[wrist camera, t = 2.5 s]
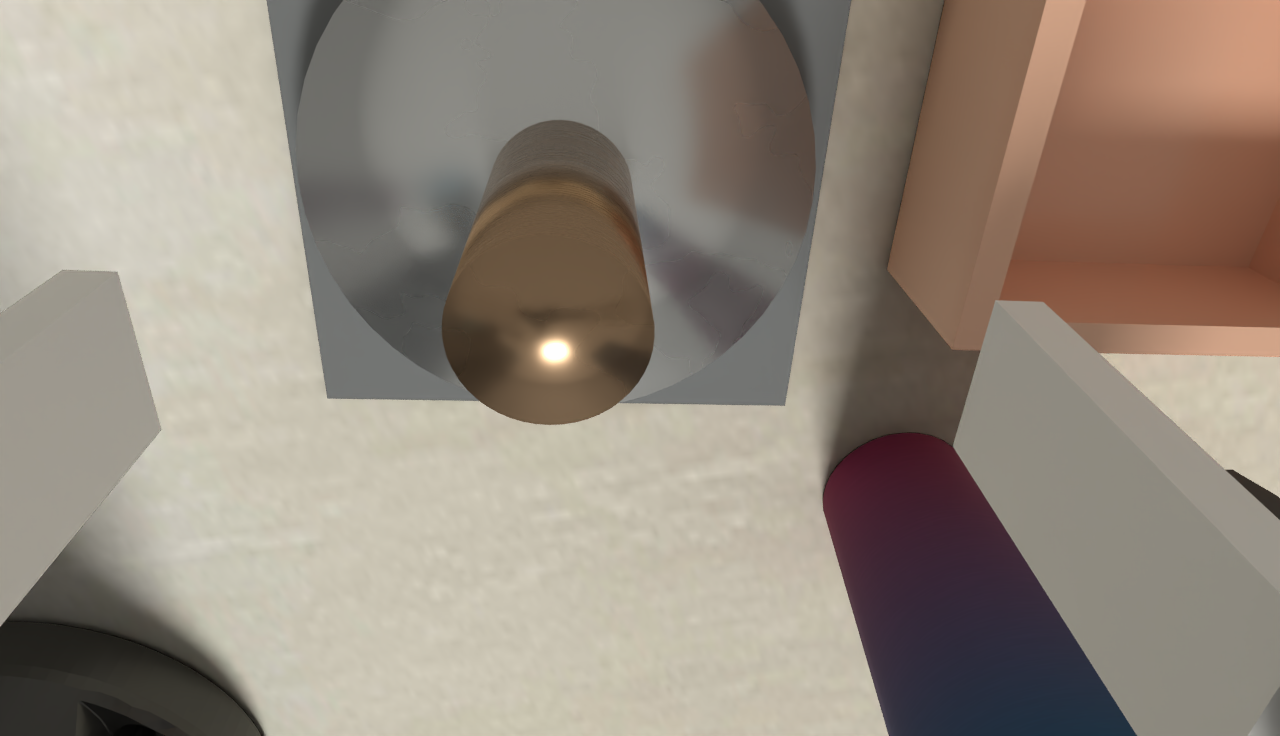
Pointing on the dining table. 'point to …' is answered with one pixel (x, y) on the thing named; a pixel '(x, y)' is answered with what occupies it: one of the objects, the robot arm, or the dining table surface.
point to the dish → (1100, 173)
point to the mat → (744, 375)
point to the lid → (556, 187)
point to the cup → (953, 603)
